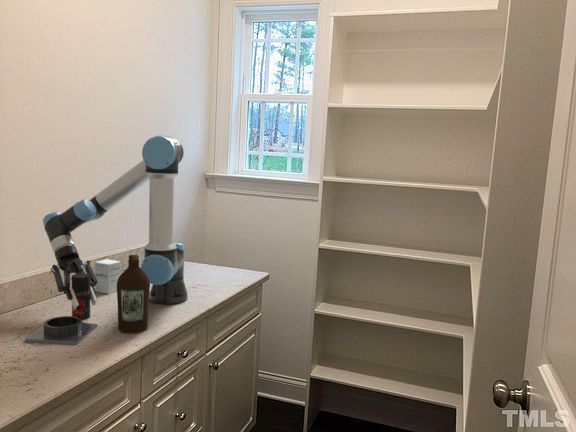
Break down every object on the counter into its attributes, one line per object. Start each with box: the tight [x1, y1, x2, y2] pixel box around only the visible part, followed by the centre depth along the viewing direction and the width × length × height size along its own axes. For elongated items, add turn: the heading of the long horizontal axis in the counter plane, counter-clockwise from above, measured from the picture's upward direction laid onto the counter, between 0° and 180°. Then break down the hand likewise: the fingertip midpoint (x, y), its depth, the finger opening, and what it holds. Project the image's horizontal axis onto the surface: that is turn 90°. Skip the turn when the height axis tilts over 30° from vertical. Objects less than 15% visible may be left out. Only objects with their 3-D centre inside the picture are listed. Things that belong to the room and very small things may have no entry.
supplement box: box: [94, 258, 122, 295], centre depth 211 cm, size 7×7×13 cm
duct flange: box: [24, 315, 98, 346], centre depth 163 cm, size 16×16×4 cm
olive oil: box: [116, 254, 151, 334], centre depth 169 cm, size 11×11×25 cm
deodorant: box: [71, 273, 91, 321], centre depth 178 cm, size 6×6×15 cm
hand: (85, 304), depth 176 cm, fingers closed on deodorant, 6 cm apart
